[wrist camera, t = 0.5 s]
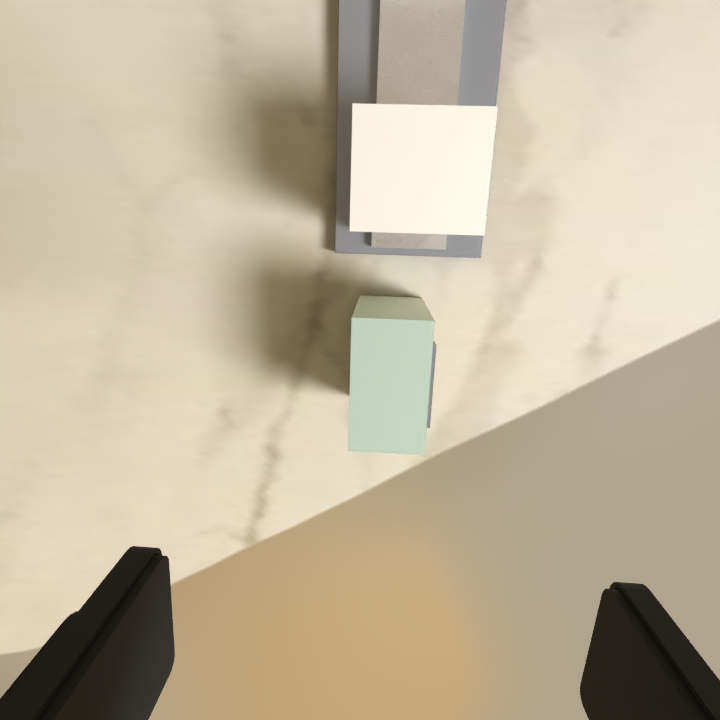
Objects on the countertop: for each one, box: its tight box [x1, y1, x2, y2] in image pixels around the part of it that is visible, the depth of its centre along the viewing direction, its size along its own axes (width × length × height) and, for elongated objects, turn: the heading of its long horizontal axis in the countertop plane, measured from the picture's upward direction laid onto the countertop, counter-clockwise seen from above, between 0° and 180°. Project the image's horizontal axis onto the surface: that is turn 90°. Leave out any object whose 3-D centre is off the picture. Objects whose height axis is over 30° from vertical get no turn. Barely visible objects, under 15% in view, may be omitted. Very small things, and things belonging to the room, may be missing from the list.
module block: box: [348, 295, 436, 455], centre depth 30 cm, size 5×8×9 cm, turn 178°
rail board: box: [335, 0, 507, 258], centre depth 25 cm, size 10×25×9 cm, turn 178°
